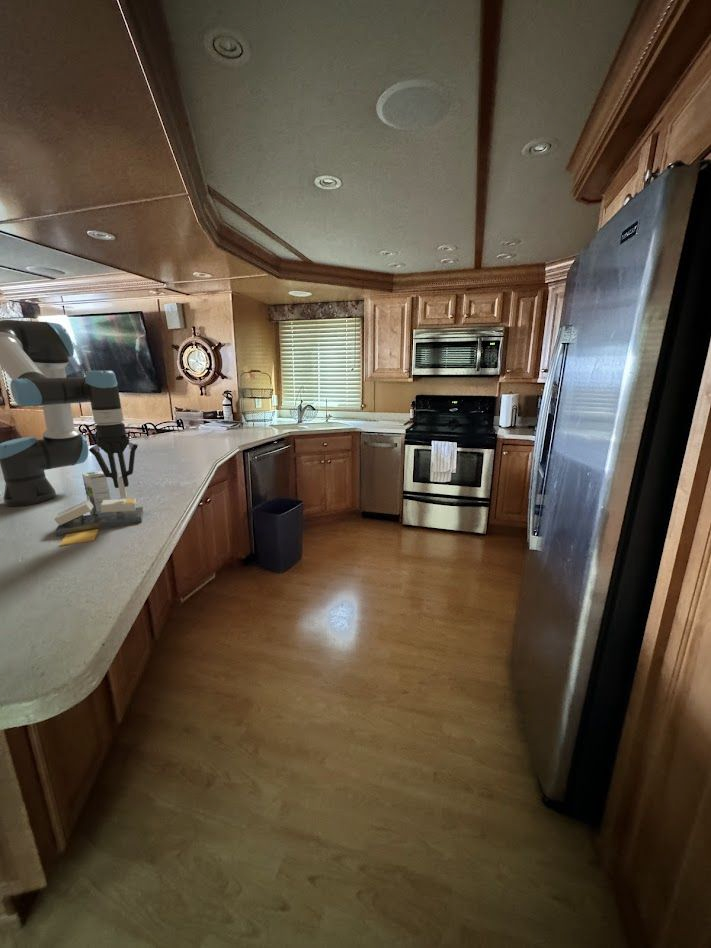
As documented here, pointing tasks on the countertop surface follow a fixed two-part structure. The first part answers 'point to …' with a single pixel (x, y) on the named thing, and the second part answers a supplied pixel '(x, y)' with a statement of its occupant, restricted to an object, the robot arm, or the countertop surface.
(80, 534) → the pad
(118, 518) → the breaker panel
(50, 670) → the countertop surface
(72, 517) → the white flat block
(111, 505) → the rocker
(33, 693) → the countertop surface
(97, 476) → the syrup box
